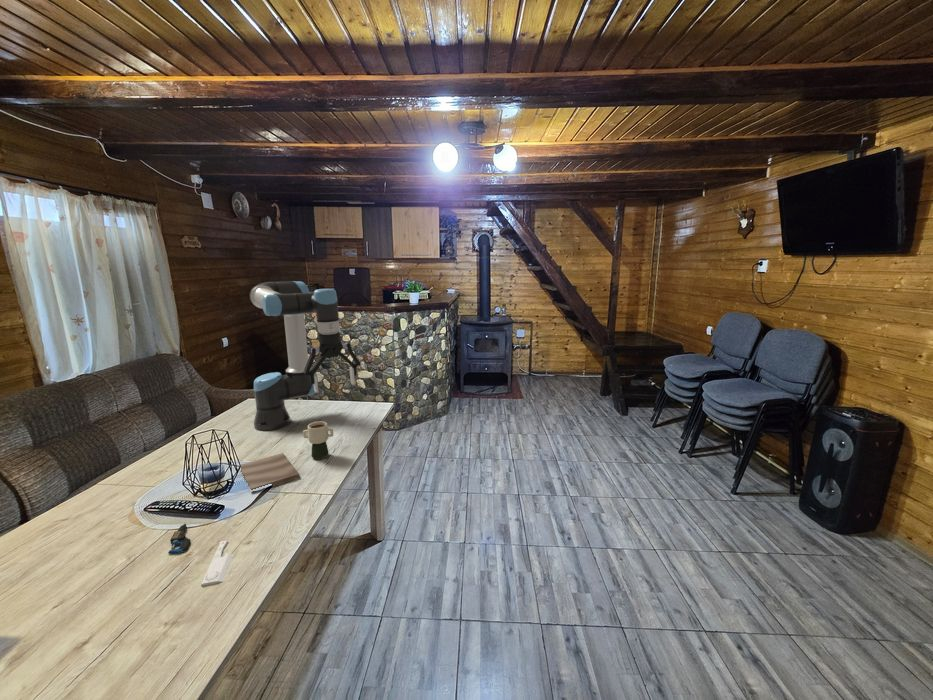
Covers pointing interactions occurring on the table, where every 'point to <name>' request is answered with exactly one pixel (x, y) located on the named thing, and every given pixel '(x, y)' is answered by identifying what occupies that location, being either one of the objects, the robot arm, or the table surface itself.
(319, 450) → the character mug
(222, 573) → the butcher knife
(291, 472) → the walnut board
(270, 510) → the table surface
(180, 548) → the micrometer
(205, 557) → the table surface
